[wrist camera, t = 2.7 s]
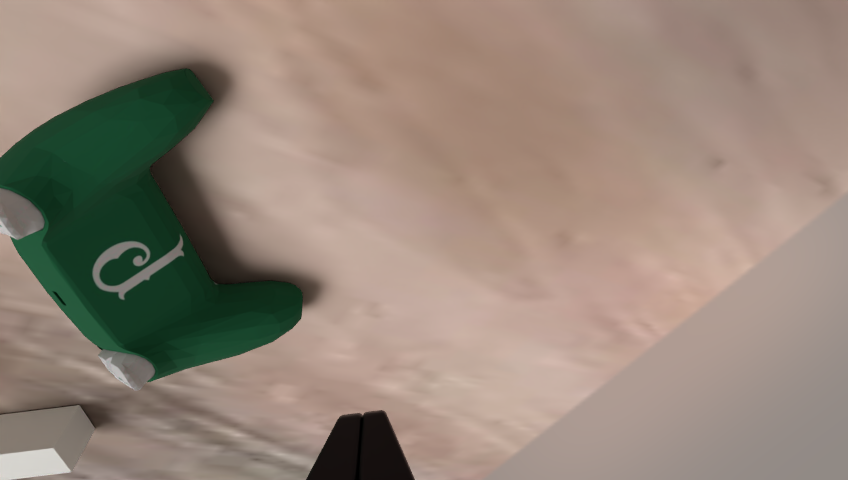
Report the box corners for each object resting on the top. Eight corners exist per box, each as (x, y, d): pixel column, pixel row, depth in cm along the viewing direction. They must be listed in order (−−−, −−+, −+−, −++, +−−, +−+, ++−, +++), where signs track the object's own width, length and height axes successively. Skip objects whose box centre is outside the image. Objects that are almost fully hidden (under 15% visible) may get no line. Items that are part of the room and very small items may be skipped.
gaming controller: (150, 61, 16) (-76, 144, 13) (207, 61, 14) (-54, 163, 10) (264, 288, 21) (123, 390, 18) (321, 317, 19) (169, 442, 15)
